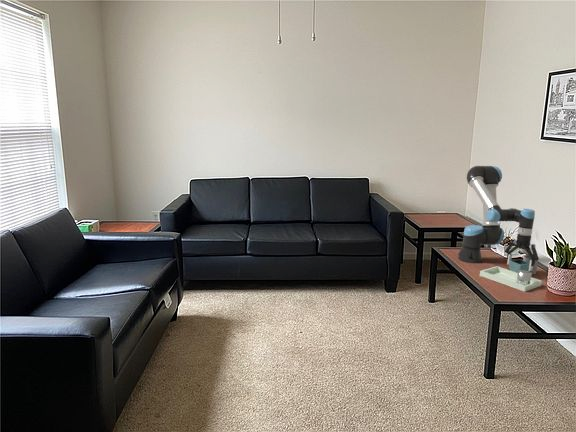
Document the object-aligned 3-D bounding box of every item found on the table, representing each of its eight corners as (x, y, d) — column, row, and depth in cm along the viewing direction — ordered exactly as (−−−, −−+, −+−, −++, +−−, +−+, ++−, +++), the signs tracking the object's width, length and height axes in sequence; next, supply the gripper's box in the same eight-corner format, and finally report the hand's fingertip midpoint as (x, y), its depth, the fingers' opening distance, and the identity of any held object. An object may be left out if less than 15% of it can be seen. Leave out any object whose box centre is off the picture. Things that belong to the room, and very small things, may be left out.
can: (513, 284, 257) (515, 271, 256) (520, 281, 261) (522, 269, 259) (525, 288, 252) (527, 275, 250) (531, 285, 256) (534, 273, 254)
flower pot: (506, 273, 277) (508, 260, 275) (516, 272, 281) (518, 258, 279) (518, 278, 269) (520, 264, 267) (528, 277, 273) (531, 263, 271)
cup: (537, 274, 277) (540, 259, 275) (523, 273, 279) (526, 258, 277) (533, 270, 285) (535, 255, 283) (519, 269, 287) (522, 254, 285)
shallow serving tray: (479, 276, 270) (480, 270, 269) (496, 272, 279) (497, 266, 278) (524, 293, 247) (525, 286, 246) (540, 287, 257) (542, 280, 256)
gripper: (501, 230, 277) (497, 262, 281) (542, 239, 257) (536, 274, 261) (508, 229, 281) (503, 260, 286) (548, 238, 261) (543, 272, 265)
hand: (519, 267), depth 273 cm, fingers open, 13 cm apart
